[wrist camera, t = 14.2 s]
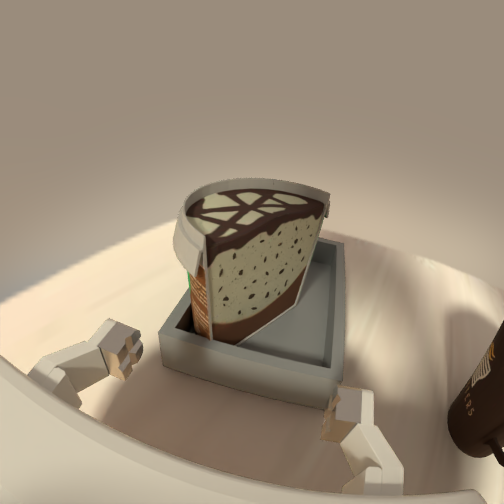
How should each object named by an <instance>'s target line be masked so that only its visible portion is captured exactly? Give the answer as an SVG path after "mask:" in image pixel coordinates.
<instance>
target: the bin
mask: <svg viewBox="0 0 504 504" xmlns="http://www.w3.org/2000/svg"><path fill="white" fill-rule="evenodd" d="M158 335H159V342H160V349H161V356H162V362H163V366H166V367H168V368H171V369H174V370H177V371H180V372H182V373H185V374H188V375H191V376H194V377H197V378H201V379H204V380H207V381H210V382H213V383H217V384H220V385H223V386H227V387H230V388H234V389H237V390H241V391H244V392H248V393H252V394H256V395H260V396H264V397H268V398H272V399H276V400H280V401H285V402H289V403H294V404H299V405H304V406H309V407H314V408H319V409H325V405H326V403H327V400H328V398H329V396H330V395H333V389H334V387H335V386H336V385H341V383H342V381H343V364H344V337H345V261H344V243H340V242H335V241H331V240H327V239H322V238H318V240H317V243H316V246H315V250H314V253H313V256H312V259H311V263H310V266H309V269H308V272H307V275H306V279H305V282H304V285H303V288H302V291H301V294H300V297H299V300H298V303H297V306H296V307H295V308H293V309H292V310H291V311H289V312H288V313H286V314H285V315H284V316H282V317H281V318H279V319H278V320H276V321H275V322H274V323H272V324H271V325H269V326H268V327H266V328H265V329H264V330H262V331H261V332H259V333H258V334H256V335H255V336H253V337H252V338H250V339H249V340H248V341H246V342H245V343H243V344H242V345H240V346H239V347H237V346H233V345H229V344H226V343H222V342H219V341H215V340H212V341H209V340H208V338H205V337H202V336H199V335H196V334H195V327H194V320H193V313H192V305H191V298H190V290H189V288H188V290H187V291H186V292H185V294H184V295H183V297H182V298H181V300H180V301H179V303H178V304H177V306H176V307H175V308H174V310H173V311H172V313H171V314H170V316H169V317H168V319H167V320H166V322H165V323H164V325H163V326H162V327H161V329H160V330H159V332H158Z"/></svg>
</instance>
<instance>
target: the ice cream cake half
mask: <svg viewBox="0 0 504 504" xmlns="http://www.w3.org/2000/svg"><path fill="white" fill-rule="evenodd" d="M329 198H330V193H328V192H325V191H322V190H320V189H316V188H313V187H310V186H306V185H303V184H298V183H294V182H289V181H283V180H276V179H265V178H236V179H227V180H221V181H217V182H213V183H209V184H206V185H204V186H201V187H199V188H198V189H196V190H194V191H193V192H192V193H191V194H189V195H188V196H187V198H186V199H185V201H184V204H183V206H182V208H181V209H180V211H179V214H178V218H177V223H176V227H175V232H174V236H173V248H174V251H175V253H176V256H177V258H178V260H179V261H180V263H181V264H182V265H183V267H184V268H185V269H186V270H187V273H188V281H189V290H190V298H191V305H192V313H193V320H194V327H195V334H196V335H199V336H202V337H205V338H208V340H209V341H212V340H215V341H219V342H222V343H226V344H229V345H233V346H237V347H239V346H240V345H242V344H243V343H245V342H246V341H248V340H249V339H250V338H252V337H253V336H255V335H256V334H258V333H259V332H261V331H262V330H264V329H265V328H266V327H268V326H269V325H271V324H272V323H274V322H275V321H276V320H278V319H279V318H281V317H282V316H284V315H285V314H286V313H288V312H289V311H291V310H292V309H293V308H295V307H296V306H297V303H298V300H299V297H300V294H301V291H302V288H303V285H304V282H305V279H306V275H307V272H308V269H309V266H310V263H311V259H312V256H313V253H314V250H315V246H316V243H317V240H318V237H319V233H320V230H321V226H322V223H323V219H324V217H325V218H328V214H329V206H330V201H329Z"/></svg>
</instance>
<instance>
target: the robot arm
mask: <svg viewBox="0 0 504 504" xmlns="http://www.w3.org/2000/svg"><path fill="white" fill-rule="evenodd" d="M140 337H141V334H140V331H139V330H137V329H134V328H132V327H129V326H127V325H125V324H122V323H120V322H117V321H115V320H113V319H110V318H109V319H107V320H106V321H105V322H104V323H103V324H102V325H101V326H100V328H99V329H98V330H97V331H96V332H95V333H94V335H93V336H92V337H91V338H90V339H89V340H88V342H86V341H83V342H80V343H78V344H75V345H73V346H70V347H67V348H65V349H62V350H59V351H57V352H54V353H51V354H49V355H46V356H43V357H42V358H41V359H40V360H39V362H38V363H37V364H36V365H35V366H34V367H33V369H32V370H31V371H30V372H29V373H28V375H26V374H24V373H23V372H22V371H20V370H19V369H18V368H16V367H15V366H14V365H13V364H11V363H10V362H9V361H8V360H6V359H5V358H4V357H3V356H1V355H0V504H487V503H486V501H485V500H484V499H483V497H482V496H481V495H480V494H479V493H478V492H477V491H476V490H473V489H470V490H462V491H455V492H446V493H436V494H423V495H403V483H404V467H403V465H402V464H401V462H400V461H399V459H398V457H397V456H396V454H395V453H394V451H393V450H392V448H391V446H390V445H389V443H388V442H387V440H386V439H385V437H384V436H383V434H382V432H381V431H380V429H379V428H378V426H375V425H374V392H373V391H372V390H366V389H360V388H355V387H348V386H342V385H336V386H335V387H334V389H333V395H330V396H329V398H328V400H327V403H326V405H325V410H324V416H323V417H324V418H325V420H326V421H325V422H324V424H323V425H322V431H321V438H320V440H325V441H330V442H336V443H340V446H341V448H342V450H343V453H344V455H345V457H346V459H347V461H348V464H349V466H350V468H351V470H352V473H353V475H354V477H355V478H353V479H352V480H351V481H349V482H348V483H346V484H345V485H344V486H342V492H341V493H330V492H322V491H314V490H306V489H300V488H294V487H288V486H282V485H277V484H272V483H267V482H263V481H258V480H254V479H250V478H246V477H242V476H238V475H234V474H230V473H227V472H223V471H220V470H217V469H213V468H210V467H207V466H204V465H201V464H198V463H195V462H192V461H189V460H186V459H183V458H181V457H178V456H175V455H173V454H170V453H167V452H165V451H162V450H160V449H158V448H155V447H153V446H150V445H148V444H146V443H143V442H141V441H139V440H137V439H135V438H132V437H130V436H128V435H126V434H124V433H122V432H120V431H118V430H116V429H114V428H112V427H110V426H108V425H106V424H104V423H102V422H100V421H98V420H97V419H95V418H93V417H91V416H89V415H88V414H86V413H84V412H82V411H81V410H79V408H80V406H81V405H82V401H81V400H80V398H79V396H78V394H77V393H78V392H80V391H82V390H84V389H85V388H87V387H89V386H91V385H93V384H94V383H96V382H98V381H100V380H102V379H103V378H105V377H107V376H109V374H110V375H112V376H114V377H117V378H119V379H121V380H124V381H126V380H127V378H128V377H129V375H130V374H131V372H132V371H133V369H132V365H134V364H136V363H138V361H139V360H140V358H141V356H142V353H143V344H142V342H141V341H140V340H139V338H140Z"/></svg>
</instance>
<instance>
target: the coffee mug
mask: <svg viewBox="0 0 504 504" xmlns="http://www.w3.org/2000/svg"><path fill="white" fill-rule="evenodd" d="M448 428H449V432H450V435H451V437H452V439H453V441H454V443H455V444H456V445H457V447H458V448H459V449H460V450H461V451H463V452H464V453H465V454H467V455H469V456H472V457H476V458H482V457H486V456H489V455H491V454H492V453H493V454H494V455H495V457H496V459H497V461H498V463H499V464H500V465H502V466H503V467H504V452H503V450H502V447H504V321H503V323H502V324H501V326H500V328H499V330H498V332H497V334H496V336H495V338H494V340H493V341H492V343H491V345H490V347H489V348H488V350H487V352H486V354H485V355H484V357H483V359H482V360H481V362H480V364H479V365H478V367H477V368H476V370H475V372H474V373H473V375H472V376H471V378H470V379H469V381H468V382H467V384H466V385H465V387H464V388H463V389H462V391H461V392H460V394H459V395H458V397H457V398H456V399H455V401H454V402H453V404H452V405H451V407H450V409H449V412H448Z"/></svg>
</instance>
